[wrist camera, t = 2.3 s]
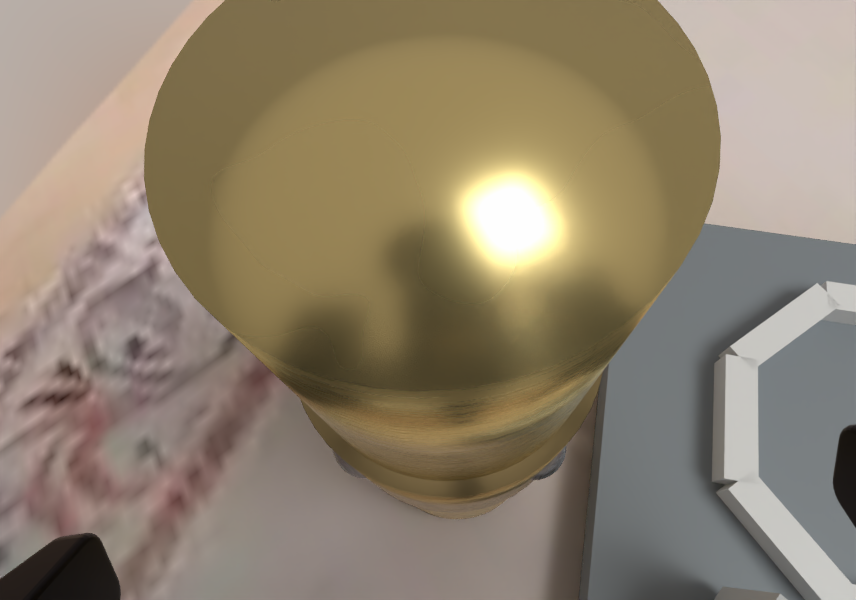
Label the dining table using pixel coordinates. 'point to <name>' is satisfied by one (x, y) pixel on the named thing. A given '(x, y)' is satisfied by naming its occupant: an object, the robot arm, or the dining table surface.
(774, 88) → the dining table surface
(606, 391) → the base
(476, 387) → the coupler
